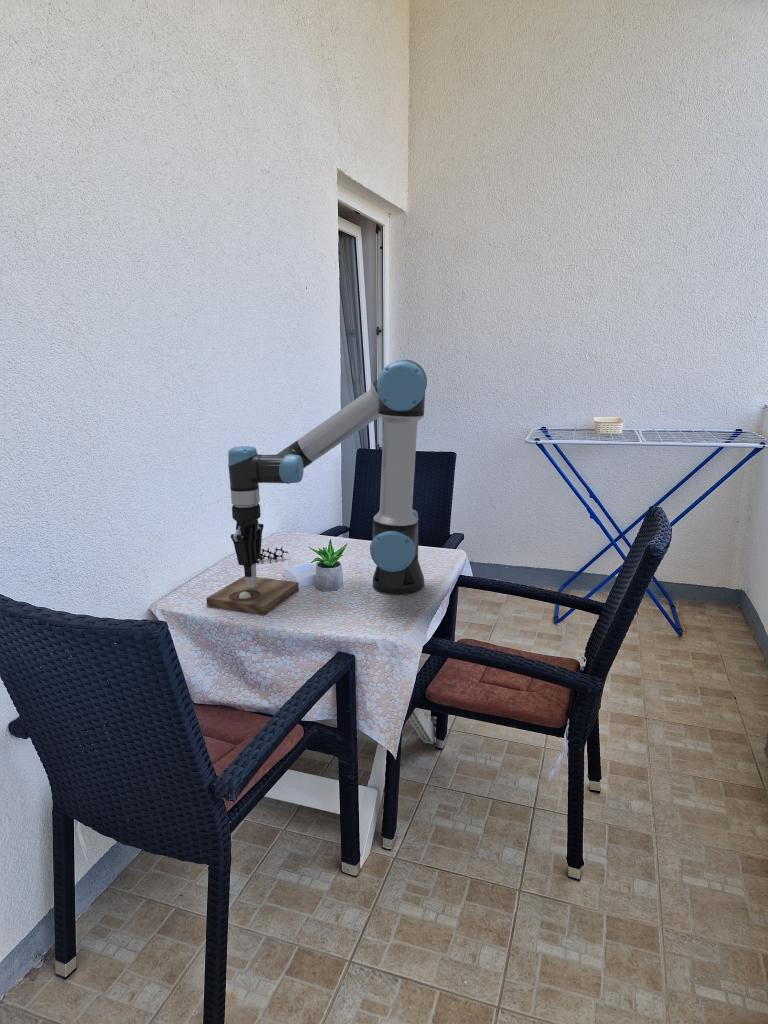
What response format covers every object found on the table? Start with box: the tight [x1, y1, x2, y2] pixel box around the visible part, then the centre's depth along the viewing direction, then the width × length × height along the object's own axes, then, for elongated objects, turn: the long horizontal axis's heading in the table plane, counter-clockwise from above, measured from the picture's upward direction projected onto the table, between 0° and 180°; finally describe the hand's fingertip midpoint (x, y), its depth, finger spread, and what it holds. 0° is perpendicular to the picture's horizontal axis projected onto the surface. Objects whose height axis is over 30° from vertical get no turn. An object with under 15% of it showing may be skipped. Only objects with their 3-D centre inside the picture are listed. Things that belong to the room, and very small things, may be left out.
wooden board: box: [206, 575, 300, 616], centre depth 183 cm, size 18×19×2 cm
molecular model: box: [257, 546, 290, 564], centre depth 214 cm, size 6×15×8 cm, turn 111°
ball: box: [238, 592, 251, 599], centre depth 179 cm, size 4×4×4 cm
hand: (251, 586), depth 181 cm, fingers closed
